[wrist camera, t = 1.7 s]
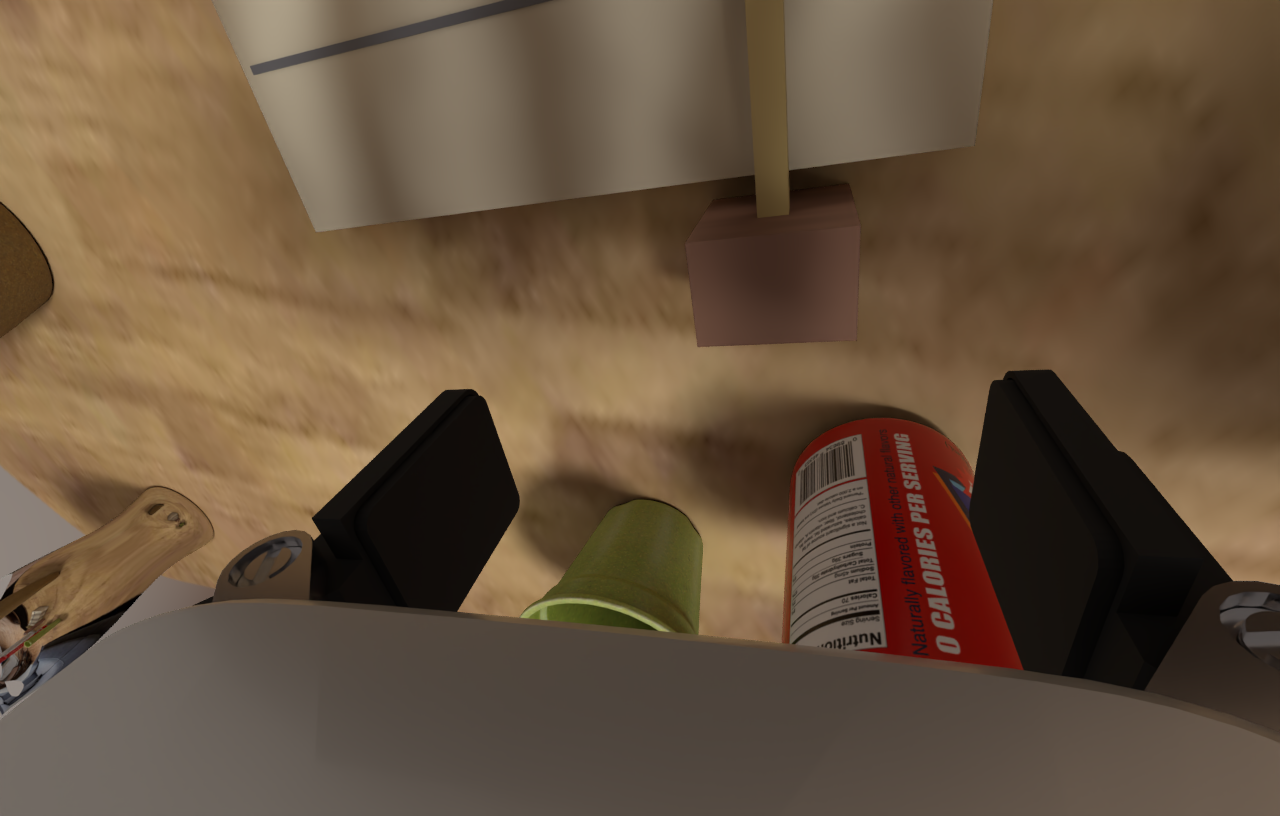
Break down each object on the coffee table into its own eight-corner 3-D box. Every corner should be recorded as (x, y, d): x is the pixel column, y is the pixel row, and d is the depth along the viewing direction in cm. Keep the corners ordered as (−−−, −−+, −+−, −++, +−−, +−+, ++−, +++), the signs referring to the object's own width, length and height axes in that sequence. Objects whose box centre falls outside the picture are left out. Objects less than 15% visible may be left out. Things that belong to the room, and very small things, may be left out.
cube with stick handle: (854, -79, 17) (873, -133, 12) (846, 276, 22) (856, 340, 17) (690, -38, 18) (645, -70, 13) (721, 285, 24) (697, 347, 19)
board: (1004, -248, 14) (1030, -289, 12) (960, 137, 19) (975, 146, 17) (249, -11, 22) (202, -16, 20) (346, 221, 27) (314, 233, 25)
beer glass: (205, 497, 43) (-36, 676, 31) (228, 556, 47) (22, 735, 35) (129, 470, 44) (-136, 634, 31) (158, 531, 48) (-68, 697, 35)
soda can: (820, 386, 25) (829, 711, 13) (1003, 433, 24) (1203, 836, 12) (771, 510, 29) (742, 838, 17) (923, 554, 28) (1008, 937, 16)
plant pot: (569, 564, 36) (510, 690, 29) (583, 453, 31) (514, 575, 24) (710, 609, 35) (684, 752, 28) (750, 502, 29) (730, 645, 22)
